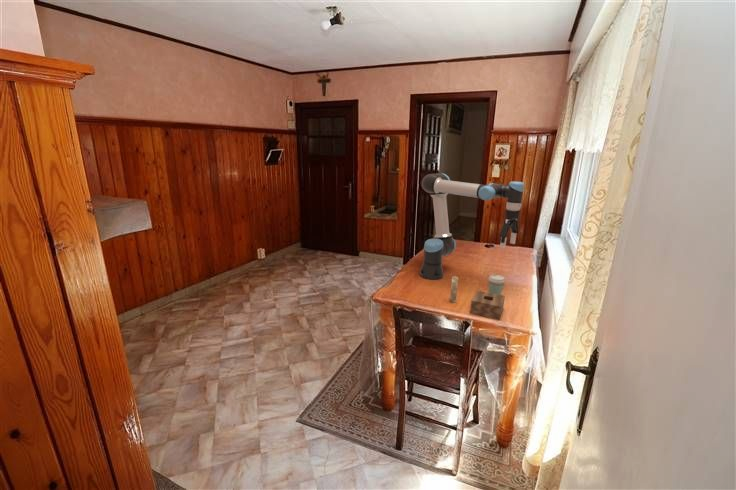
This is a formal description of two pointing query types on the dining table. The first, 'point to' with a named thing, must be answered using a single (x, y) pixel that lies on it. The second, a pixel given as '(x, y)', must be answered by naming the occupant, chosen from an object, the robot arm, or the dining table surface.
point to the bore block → (487, 304)
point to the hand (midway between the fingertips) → (507, 245)
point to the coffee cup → (496, 284)
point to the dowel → (454, 289)
